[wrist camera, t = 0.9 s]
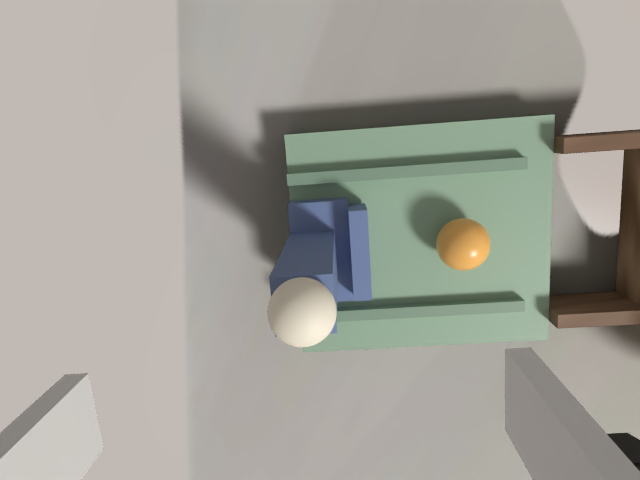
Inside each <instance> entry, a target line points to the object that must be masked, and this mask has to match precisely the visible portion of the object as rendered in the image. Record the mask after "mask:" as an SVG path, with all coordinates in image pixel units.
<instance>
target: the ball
mask: <svg viewBox="0 0 640 480" xmlns="http://www.w3.org/2000/svg"><path fill="white" fill-rule="evenodd" d="M490 247H491V242H490V237H489V234H488V232H487V231H486V229H485V228H484V227H483V226H482V225H481V224H480V223H478V222H477V221H474V220H472V219H467V218H460V219H455V220H452V221H450V222H448V223H447V224H446V225H444V226H443V227H442V229H441V230H440V232H439V234H438V236H437V240H436V249H437V253H438V255H439V257H440V259H441V260H442V261H443V262H444V263H445V264H446V265H447V266H449V267H450V268H453V269H456V270H461V271H466V270H471V269H474V268H476V267H478V266H480V265H481V264H482V263H483V262H484V261H485V260H486V258H487V257H488V255H489V252H490Z"/></svg>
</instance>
